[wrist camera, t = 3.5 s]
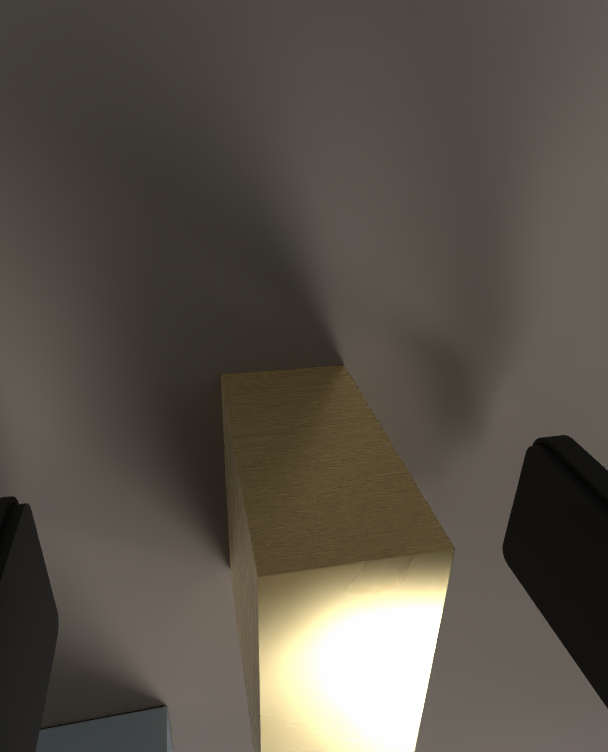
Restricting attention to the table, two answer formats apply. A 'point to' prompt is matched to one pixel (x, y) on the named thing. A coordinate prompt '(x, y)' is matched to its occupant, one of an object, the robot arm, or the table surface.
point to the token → (328, 565)
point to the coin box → (111, 734)
